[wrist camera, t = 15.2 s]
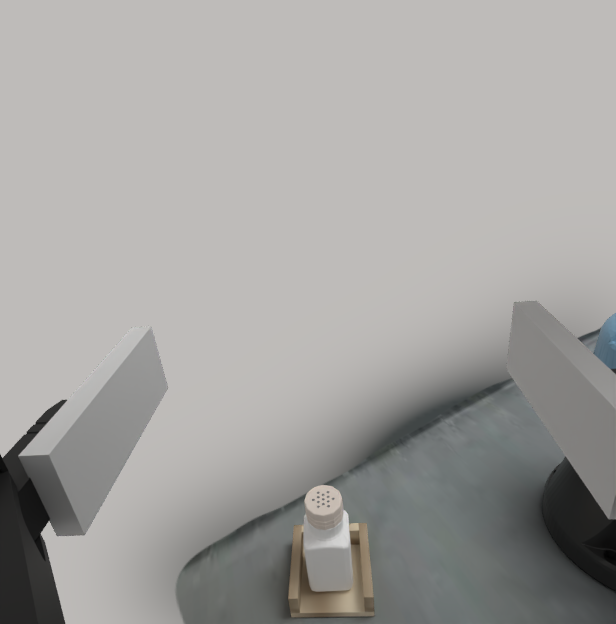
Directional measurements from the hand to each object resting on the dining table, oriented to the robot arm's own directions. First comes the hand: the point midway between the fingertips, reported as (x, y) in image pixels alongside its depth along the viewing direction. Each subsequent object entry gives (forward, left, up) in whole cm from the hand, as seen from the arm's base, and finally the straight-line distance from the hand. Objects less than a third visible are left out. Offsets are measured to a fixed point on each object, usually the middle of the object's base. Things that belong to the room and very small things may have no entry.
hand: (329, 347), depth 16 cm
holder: (+2, -13, -32) cm, 34 cm away
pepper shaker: (+2, -13, -32) cm, 34 cm away
